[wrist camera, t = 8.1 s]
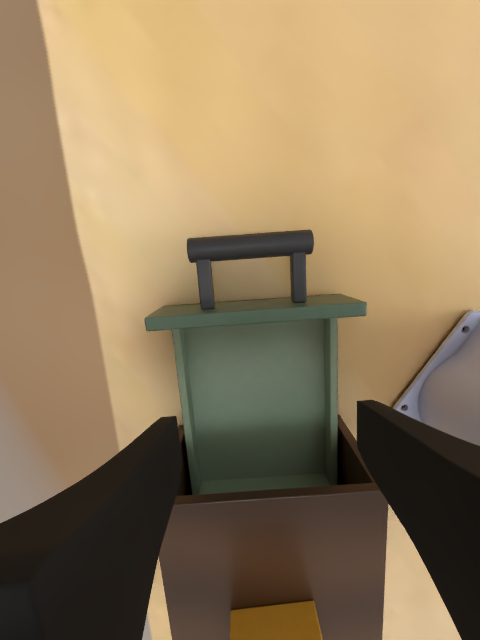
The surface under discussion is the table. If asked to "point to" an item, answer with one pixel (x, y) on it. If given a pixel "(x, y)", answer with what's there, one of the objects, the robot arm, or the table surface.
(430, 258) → the table surface
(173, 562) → the cabinet
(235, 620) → the cube
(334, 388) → the drawer
